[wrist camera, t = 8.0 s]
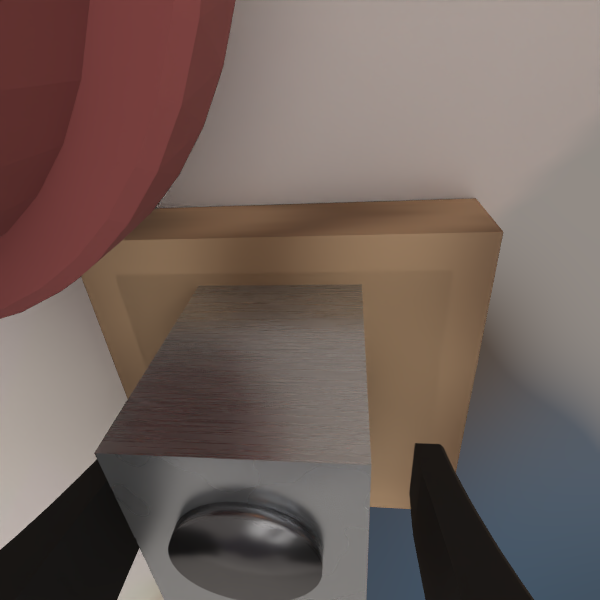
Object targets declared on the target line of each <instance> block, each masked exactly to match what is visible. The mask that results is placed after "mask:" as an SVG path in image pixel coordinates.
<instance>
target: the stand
mask: <svg viewBox="0 0 600 600" xmlns="http://www.w3.org/2000/svg"><path fill="white" fill-rule="evenodd" d="M502 236H503V231H502V230H501V228H500V227H499V226H498V225H497V224H496V222H495V221H494V220H493V219H492V217H491V216H490V215H489V214H488V213H487V211H486V210H485V209H484V208H483V207H482V205H481V204H480V203H479V202H478V201H477V199H476V198H474V199H442V200H411V201H379V202H348V203H316V204H285V205H253V206H221V207H190V208H158V209H154V210H153V211H152V212H151V214H150V215H148V216H147V217H146V218H145V219H144V220H143V221H142V222H141V223H140V224H139V225H138V226H137V227H136V228H135V229H134V230H133V231H132V232H131V233H129V234H128V235H127V236H126V237H125V238H124V239H123V240H122V241H121V242H120V243H119V244H118V245H116V246H115V247H114V248H113V249H112V250H111V251H110V252H108V253H107V254H106V255H105V256H104V257H103V258H101V259H100V260H99V261H98V262H97V263H96V264H94V265H93V266H92V267H91V268H90V269H89V270H88V271H86V272H85V273H84V274H83V275H82V276H81V277H82V280H83V283H84V285H85V288H86V291H87V293H88V296H89V298H90V301H91V304H92V306H93V309H94V312H95V314H96V317H97V319H98V322H99V325H100V327H101V330H102V333H103V335H104V338H105V341H106V343H107V346H108V348H109V351H110V354H111V356H112V359H113V362H114V364H115V367H116V369H117V372H118V375H119V377H120V380H121V383H122V385H123V388H124V391H125V393H126V396H127V398H129V397H130V395H131V394H132V392H133V390H134V389H135V387H136V386H137V384H138V382H139V381H140V379H141V378H142V376H143V374H144V373H145V371H146V370H147V368H148V366H149V365H150V363H151V362H152V360H153V358H154V357H155V355H156V354H157V352H158V350H159V349H160V347H161V346H162V344H163V342H164V341H165V339H166V337H167V336H168V334H169V333H170V331H171V329H172V328H173V326H174V325H175V323H176V321H177V320H178V318H179V317H180V315H181V313H182V312H183V310H184V309H185V307H186V305H187V304H188V302H189V301H190V299H191V297H192V296H193V294H194V293H195V291H196V289H197V288H198V286H218V285H362V299H363V318H364V337H365V355H366V374H367V393H368V412H369V431H370V449H371V487H370V507H385V508H404V509H411V507H410V496H409V491H410V482H411V473H412V464H413V455H414V447H415V443H426V444H440V445H442V446H443V447H444V449H445V451H446V454H447V456H448V458H449V460H450V462H451V464H452V466H453V468H454V471H455V473H456V468H457V463H458V458H459V453H460V448H461V443H462V438H463V433H464V427H465V422H466V418H467V413H468V408H469V403H470V397H471V393H472V388H473V382H474V377H475V372H476V367H477V362H478V357H479V352H480V347H481V342H482V337H483V332H484V327H485V322H486V317H487V312H488V306H489V301H490V297H491V292H492V287H493V282H494V277H495V271H496V266H497V261H498V256H499V251H500V246H501V241H502Z"/></svg>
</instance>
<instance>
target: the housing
mask: <svg viewBox="0 0 600 600" xmlns="http://www.w3.org/2000/svg"><path fill="white" fill-rule="evenodd" d="M95 455H96V457H97V459H98V462H99V464H100V466H101V468H102V470H103V472H104V474H105V476H106V478H107V480H108V483H109V485H110V487H111V489H112V491H113V493H114V495H115V497H116V499H117V501H118V503H119V506H120V508H121V510H122V512H123V514H124V516H125V518H126V520H127V522H128V524H129V527H130V529H131V531H132V533H133V535H134V537H135V539H136V541H137V543H138V545H139V548H140V550H141V552H142V554H143V556H144V558H145V560H146V562H147V564H148V566H149V569H150V571H151V573H152V575H153V577H154V579H155V581H156V583H157V585H158V587H159V589H160V592H161V594H162V596H163V598H164V600H366V591H367V565H368V563H367V562H368V539H369V512H370V487H371V449H370V431H369V412H368V393H367V374H366V355H365V337H364V318H363V299H362V285H218V286H198V288H197V289H196V291H195V293H194V294H193V296H192V297H191V299H190V301H189V302H188V304H187V305H186V307H185V309H184V310H183V312H182V313H181V315H180V317H179V318H178V320H177V321H176V323H175V325H174V326H173V328H172V329H171V331H170V333H169V334H168V336H167V337H166V339H165V341H164V342H163V344H162V346H161V347H160V349H159V350H158V352H157V354H156V355H155V357H154V358H153V360H152V362H151V363H150V365H149V366H148V368H147V370H146V371H145V373H144V374H143V376H142V378H141V379H140V381H139V382H138V384H137V386H136V387H135V389H134V390H133V392H132V394H131V395H130V397H129V398H128V400H127V402H126V403H125V405H124V406H123V408H122V410H121V411H120V413H119V415H118V416H117V418H116V419H115V421H114V423H113V424H112V426H111V427H110V429H109V431H108V432H107V434H106V435H105V437H104V439H103V440H102V442H101V443H100V445H99V447H98V448H97V450H96V451H95Z"/></svg>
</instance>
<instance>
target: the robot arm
mask: <svg viewBox="0 0 600 600" xmlns="http://www.w3.org/2000/svg"><path fill="white" fill-rule="evenodd" d="M409 496H410V507H411V517H412V528H413V536H414V542H415V547H416V553H417V558H418V563H419V568H420V574H421V578H422V583H423V589H424V593H425V599H426V600H534V599H533V598H532V596H531V595H530V593H529V592H528V590H527V589H526V587H525V586H524V585H523V583H522V582H521V580H520V579H519V577H518V576H517V575H516V573H515V571H514V570H513V568H512V567H511V565H510V564H509V562H508V561H507V559H506V558H505V556H504V555H503V553H502V552H501V550H500V549H499V547H498V546H497V544H496V542H495V541H494V539H493V538H492V536H491V534H490V533H489V531H488V529H487V528H486V526H485V524H484V523H483V521H482V519H481V518H480V516H479V514H478V513H477V511H476V509H475V508H474V506H473V504H472V502H471V501H470V499H469V497H468V495H467V493H466V491H465V490H464V488H463V486H462V484H461V482H460V480H459V478H458V476H457V475H456V473H455V471H454V468H453V466H452V464H451V462H450V460H449V458H448V456H447V454H446V451H445V449H444V447H443V446H442V445H440V444H426V443H415V447H414V455H413V464H412V473H411V482H410V491H409ZM138 550H139V545H138V543H137V541H136V539H135V537H134V535H133V533H132V531H131V529H130V527H129V524H128V522H127V520H126V518H125V516H124V514H123V512H122V510H121V508H120V506H119V503H118V501H117V499H116V497H115V495H114V493H113V491H112V489H111V487H110V485H109V483H108V480H107V478H106V476H105V474H104V472H103V470H102V468H101V466H100V464H99V462H98V459H97V460H96V461H95V462H94V463H93V464H92V465H91V466H90V467H89V468H88V469H87V470H86V471H85V472H84V473H83V474H82V475H81V476H80V477H79V478H78V479H77V480H76V481H75V482H74V483H73V484H72V485H71V486H69V487H68V488H67V489H66V490H65V491H64V492H63V493H62V494H61V495H60V496H59V497H58V498H57V499H56V500H55V501H54V502H53V503H52V504H51V505H50V506H49V507H48V508H47V509H46V510H44V511H43V512H42V513H41V514H40V515H39V516H38V517H37V518H36V519H35V520H33V521H32V522H31V523H30V524H29V525H28V526H27V527H26V528H25V529H23V530H22V531H21V532H20V533H19V534H18V535H17V536H16V537H15V538H14V539H12V540H11V541H10V542H9V543H8V544H7V545H5V546H4V547H3V548H2V549H1V550H0V600H117V598H118V596H119V594H120V591H121V589H122V587H123V584H124V582H125V580H126V577H127V575H128V573H129V570H130V568H131V566H132V564H133V561H134V559H135V557H136V554H137V552H138Z"/></svg>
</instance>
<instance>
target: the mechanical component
mask: <svg viewBox="0 0 600 600" xmlns="http://www.w3.org/2000/svg"><path fill="white" fill-rule="evenodd" d="M235 1H236V0H0V319H1V318H4V317H7V316H11V315H14V314H17V313H20V312H23V311H25V310H26V309H28V308H30V307H32V306H34V305H36V304H38V303H40V302H42V301H44V300H46V299H47V298H49V297H51V296H53V295H55V294H57V293H59V292H61V291H62V290H63V289H65V288H66V287H68V286H69V285H70V284H72V283H73V282H75V281H76V280H77V279H78V278H79V277H81V276H82V275H83V274H84V273H85V272H86V271H88V270H89V269H90V268H91V267H92V266H93V265H94V264H96V263H97V262H98V261H99V260H100V259H101V258H103V257H104V256H105V255H106V254H107V253H108V252H110V251H111V250H112V249H113V248H114V247H115V246H116V245H118V244H119V243H120V242H121V241H122V240H123V239H124V238H125V237H126V236H127V235H128V234H129V233H131V232H132V231H133V230H134V229H135V228H136V227H137V226H138V225H139V224H140V223H141V222H142V221H143V220H144V219H145V218H146V217H147V216H148V215H150V214H151V212H152V211H153V210H154V208H155V207H156V206H157V204H158V203H159V202H160V200H161V199H162V198H163V196H164V195H165V193H166V192H167V191H168V189H169V188H170V187H171V185H172V184H173V183H174V181H175V180H176V178H177V177H178V176H179V174H180V172H181V170H182V168H183V166H184V164H185V162H186V160H187V158H188V156H189V154H190V152H191V150H192V148H193V146H194V144H195V142H196V140H197V138H198V136H199V134H200V132H201V130H202V128H203V126H204V123H205V120H206V117H207V114H208V111H209V108H210V105H211V102H212V99H213V96H214V93H215V90H216V87H217V84H218V81H219V78H220V75H221V72H222V69H223V65H224V60H225V54H226V49H227V44H228V38H229V33H230V27H231V22H232V17H233V11H234V6H235Z"/></svg>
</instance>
